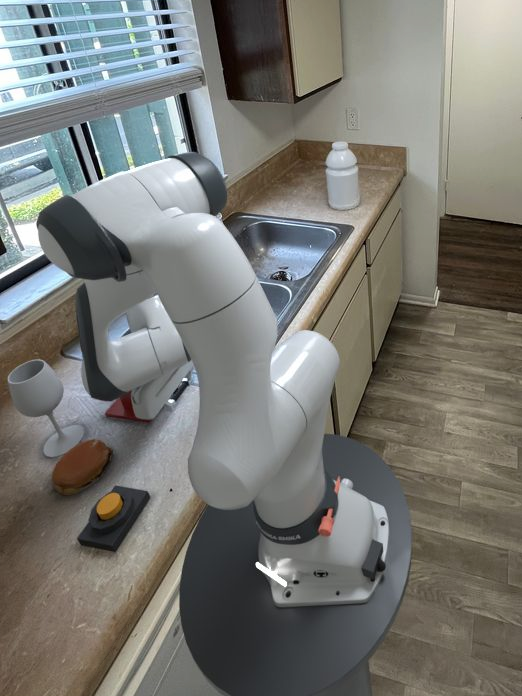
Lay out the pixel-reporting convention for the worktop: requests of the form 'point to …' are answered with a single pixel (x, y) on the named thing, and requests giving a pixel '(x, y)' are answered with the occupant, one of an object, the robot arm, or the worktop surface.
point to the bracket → (124, 409)
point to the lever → (179, 391)
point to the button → (109, 506)
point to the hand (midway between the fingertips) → (180, 395)
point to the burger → (81, 466)
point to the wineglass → (43, 402)
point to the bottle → (342, 177)
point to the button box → (114, 520)
